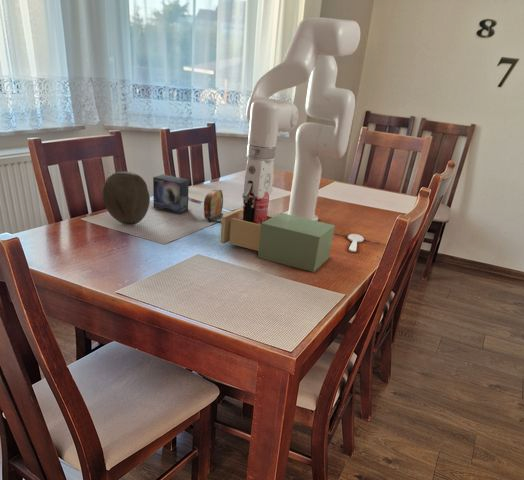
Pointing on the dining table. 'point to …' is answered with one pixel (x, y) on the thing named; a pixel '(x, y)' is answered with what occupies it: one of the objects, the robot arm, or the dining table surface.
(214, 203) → the tin
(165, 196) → the small box
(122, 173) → the cantaloupe
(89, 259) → the dining table surface
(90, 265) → the dining table surface
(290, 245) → the cabinet
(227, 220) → the drawer
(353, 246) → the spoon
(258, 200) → the soda can
